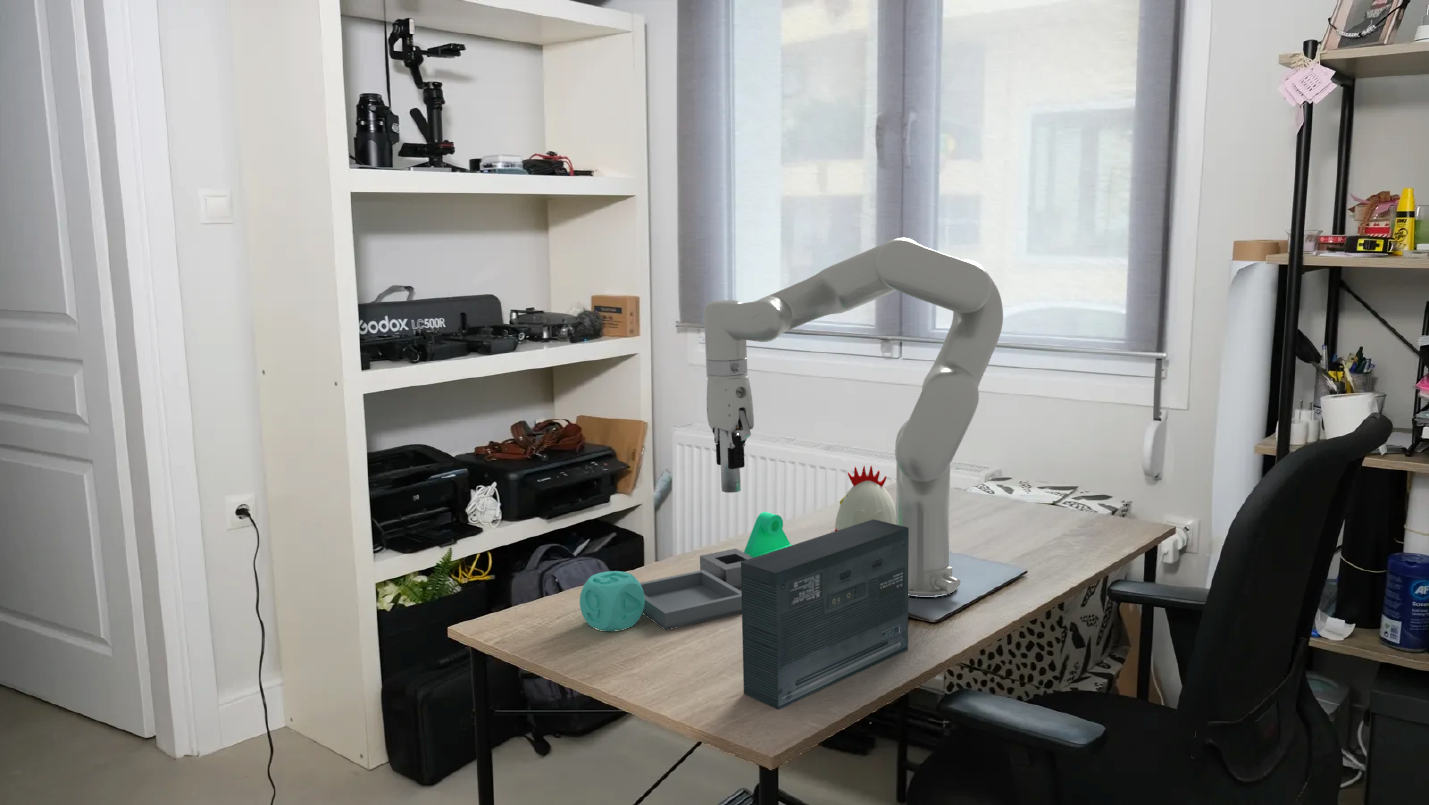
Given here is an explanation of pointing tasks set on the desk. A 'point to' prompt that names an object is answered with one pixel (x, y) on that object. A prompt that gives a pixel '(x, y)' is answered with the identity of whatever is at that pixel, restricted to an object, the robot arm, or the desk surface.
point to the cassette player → (823, 610)
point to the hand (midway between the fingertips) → (730, 465)
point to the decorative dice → (612, 600)
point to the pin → (728, 476)
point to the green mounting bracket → (766, 535)
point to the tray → (689, 599)
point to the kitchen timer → (865, 501)
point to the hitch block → (725, 565)
